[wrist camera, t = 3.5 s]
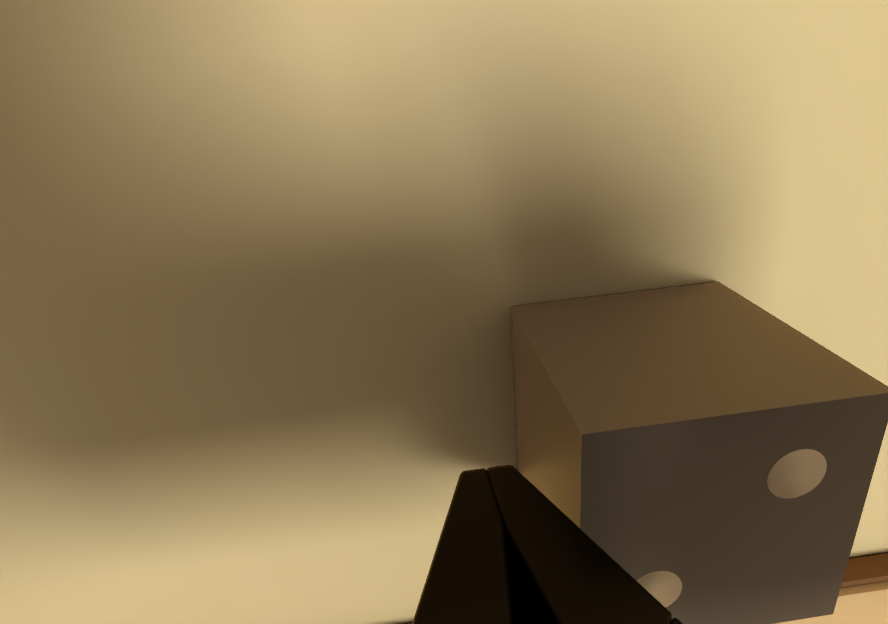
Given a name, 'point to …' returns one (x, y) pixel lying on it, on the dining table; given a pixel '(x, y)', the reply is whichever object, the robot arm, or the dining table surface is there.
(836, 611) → the board
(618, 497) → the die
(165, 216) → the dining table surface
